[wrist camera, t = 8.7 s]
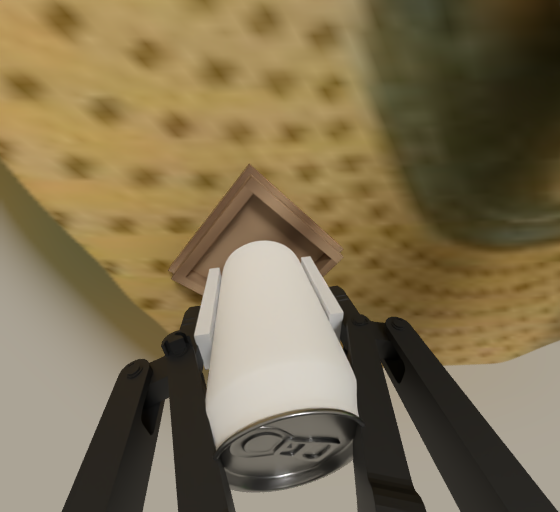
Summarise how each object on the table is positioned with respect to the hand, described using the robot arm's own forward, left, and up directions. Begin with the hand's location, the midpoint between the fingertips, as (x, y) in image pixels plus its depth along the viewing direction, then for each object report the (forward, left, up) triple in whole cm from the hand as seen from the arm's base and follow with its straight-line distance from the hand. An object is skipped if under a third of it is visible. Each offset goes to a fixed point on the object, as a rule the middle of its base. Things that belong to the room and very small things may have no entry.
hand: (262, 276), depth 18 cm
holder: (0, 0, -4) cm, 4 cm away
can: (0, 0, -1) cm, 1 cm away
